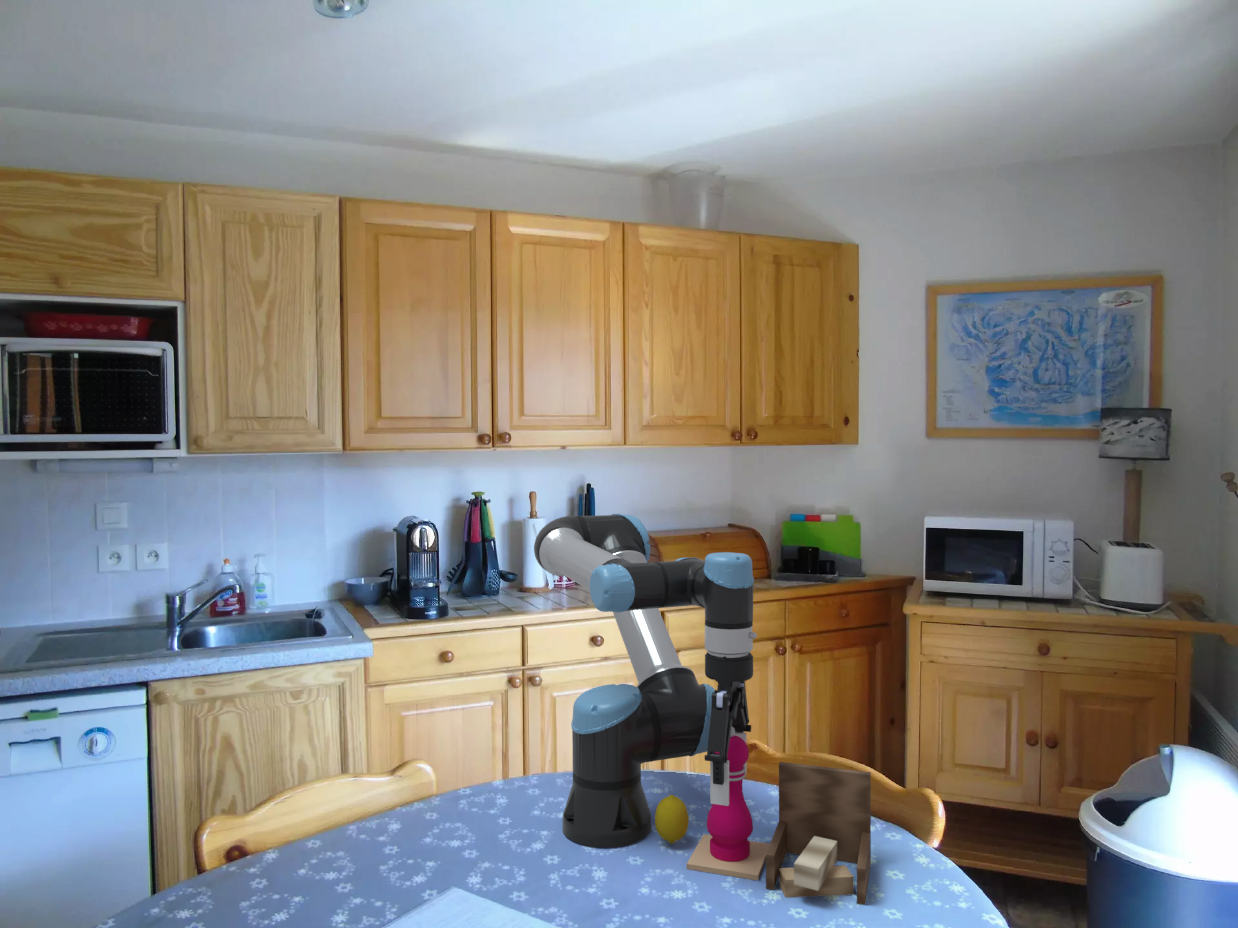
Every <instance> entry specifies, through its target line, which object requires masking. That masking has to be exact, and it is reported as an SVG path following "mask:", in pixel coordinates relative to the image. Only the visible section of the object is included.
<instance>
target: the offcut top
mask: <svg viewBox="0 0 1238 928" xmlns="http://www.w3.org/2000/svg"><path fill="white" fill-rule="evenodd" d="M837 862H838V861H837V841H835V840H831V839H826V838H822V837H817V836H814V837H813V838H812V840H811V841H810V842H809V844H808V845H807V846H806V848H805V849H804V850H803V852H802V853H801V855H798V857H797V858H796V860H795V861H794V863H793V868H794V885H797V886H801V887H805V888H809V889H813V890H817V891H818V890H819V889H820V887H821V886H822V884H823V883H824V881H825V879H826V878H827V876H828V875H829V873H830V871H831V870H832V868H833V867H834V866H836V863H837Z"/></svg>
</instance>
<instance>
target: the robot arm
mask: <svg viewBox="0 0 1238 928" xmlns="http://www.w3.org/2000/svg"><path fill="white" fill-rule="evenodd" d="M648 533H649V532H648V530H647V528H646V527H645V525H644V523H643V522H642V521H641V519H640V518H638V517H636V516H635V515H632V514H621V513H613V514H608V515H606V514H605V515H603V514H602V515H566V516H561V517H559V518H555V519H554V520H552V521H550V522H548V523H547V524H545V525H544V527H542V528H541V530H540V531H538V533H537V536H536V538H535V542H534V545H533V552H534V557H535V559H536V561H537V563H538V565H539V566H540V567H541V568H542V569H543V570H545V571H546V572H548V573H549V574H552V575H553V576H556V577H566V578H568V579H570V580H571V581H573V582H575V583H576V584H578V585H580V586H581V587H583V588H585V589H586V590H588V591H589V595H590V598H591V599H590V600H591V601H592V603H593V605H594V607H595V609H597V611H600V612H603V613H609V612H610V613H611V612H612V613H613V617H614V620H615V622H616V625H617V627H618V630H619V633H620V636H621V637H622V641H623V643H624V647H625V649H626V651H627V654H628V657H629V661H630V663H631V665H632V668H633V671H634V674H635V677H636V680H637V683H638V684H637V685H636V686H635V685H633V684H629V683H620V684H616V683H614V684H613V683H611V684H605V685H600V686H597V687H593V688H590V689H588V690H585V691H583V692H581V694H579V696H578V697H577V698H576V699H575V701H574V703H573V706H572V720H571V724H570V725H571V730H572V731H571V732H572V733H571V734H572V736H571V737H572V785H571V787H570V791H569V795H568V797H567V801H566V804H565V807H564V810H563V812H562V832H563V834H564V835H565V837H566V838H567V839H569V840H571V841H572V842H574V843H577V844H579V845H583V846H587V847H594V848H619V847H625V846H630V845H632V844H636V843H638V842H640V841H642V840H643V839H645V838H647V837H648V836H649V834H650V833H651V832H652V831H651V830H652V812H651V809H650V806H649V803H648V800H647V797H646V793H645V792H644V788H643V785H642V765H643V764H645V763H650V762H651V763H652V762H658V761H663V760H670V759H677V758H683V757H693V756H696V755H698V754H703V753H706V754H704V761H705V762H710V763H709V765H710V768H709V770H710V772H709V773H710V774H709V775H710V777H709V779H710V780H709V781H710V783H709V784H710V786H709V787H710V788H709V789H710V790H709V791H710V798H709V800H710V804H718V805H725V806H728V805H729V760H728V757H727V756H728V749H729V742H730V735H731V727H733V728H734V729H735V734H734V735H736V736H738V737H740V738H742V739H743V740H744V741H745V742H746V743H747V733H751V732H752V724H749V723H750V718H749V709H748V708H749V707H748V699H747V691H746V690H747V689H746V681H749V680H751V679H752V678H753V677H754V655H753V654H752V653H751V652H752V651H753V649H754V648H753V647H754V643H753V642H754V639H757V637H758V635H757V633H756V632H755V631H753V624H754V622H753V621H754V620H753V619H754V582H755V578H754V576H753V575H754V574H753V560H752V558H751V556H749V555H748V554H746V553H742V552H741V553H740V552H732V551H729V552H728V551H725V552H724V551H723V552H711V553H708V554H707V555H706V556H705V559H704V560H703V559H700V558H697V557H681V558H677V559H676V560H675V559H674V560H670V561H669V560H667V561H654V562H649V560H650V557H651V544H650V543H649V541H650V537H649V534H648ZM689 606H690V607H691V606H694V607H695V606H696V607H700V608H703V609H704V649H705V650H706V651H707V652H706V653H705V654H704V674H705V677H707V679H710V680H712V681H715V682H716V683H717V689H715V688H714V686H712V685H710V684H708V683H701V684H700V683H699V681H698V680H697V677H696V675H695V673H694V671H693V670H692V668H689V667H687V666H684V665H682V663H681V661H680V658H679V656H678V653H677V651H676V648H675V646H674V644H673V640H672V637H671V636H670V633H669V632H668V629H667V626H666V624H665V621H664V619H663V616H662V615H661V612H660V610H659V609H665V608H678V607H689ZM715 752H719V753H720V754H718V753H715ZM747 762H748V761H747ZM747 762H746V763H745V764H744V767H745V768H746V770H745V774H747V770H748V769H747V765H748V764H747Z"/></svg>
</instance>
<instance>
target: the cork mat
mask: <svg viewBox="0 0 1238 928" xmlns="http://www.w3.org/2000/svg"><path fill="white" fill-rule="evenodd" d="M711 838H712V836H711V835H710V834H709V833H708V834H707V833H703V834H702V836H701V838H700V839H699V841H698V843H697V844H696V847H695V849H694V850H693V852H692V854H691V855H690V857H689V859H688V861H687V862H686V870H689V871H690V870H691V871H696V872H697V871H698V872H703V873H704V872H705V873H708V874H716V875H723V876H728V877H734V878H739V879H746V880H753V881H759V879H760V877H761V874H762V872H763V870H764V867H765V865H766V853H767V850H768V848H769V845H770V843H767V842H762V841H754V840H749V842H750V854H749V856H748V857H747V858H746V859H744V860H741V861H734V862H730V861H723V860H719V859H717V858H715V857H713V856H712V855H711V853H710V839H711Z"/></svg>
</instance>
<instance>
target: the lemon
mask: <svg viewBox="0 0 1238 928" xmlns="http://www.w3.org/2000/svg"><path fill="white" fill-rule="evenodd" d="M654 814H655V815H654V825H655V826H654V827H655V830H656V832H657V834H658V835H659V837H660V838H662V840H664V841H667V842H668V843H669V844H670V845H674V844H675V843H676V842H678V841H680V840H681V839H683V838H684V837H685V836H686V834H687V832H688V828H689V823H690V821H689V820H690V817H689V812H688V809H687V805H686V804H685V802H684V801H683V800H682V799H681V798H679V797H678V796H675V795H674V794H669V795H668V796H665V797H664V798H662V799H661V800H660V801H659V802H658V804H657V806H656V808H655V813H654Z"/></svg>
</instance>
